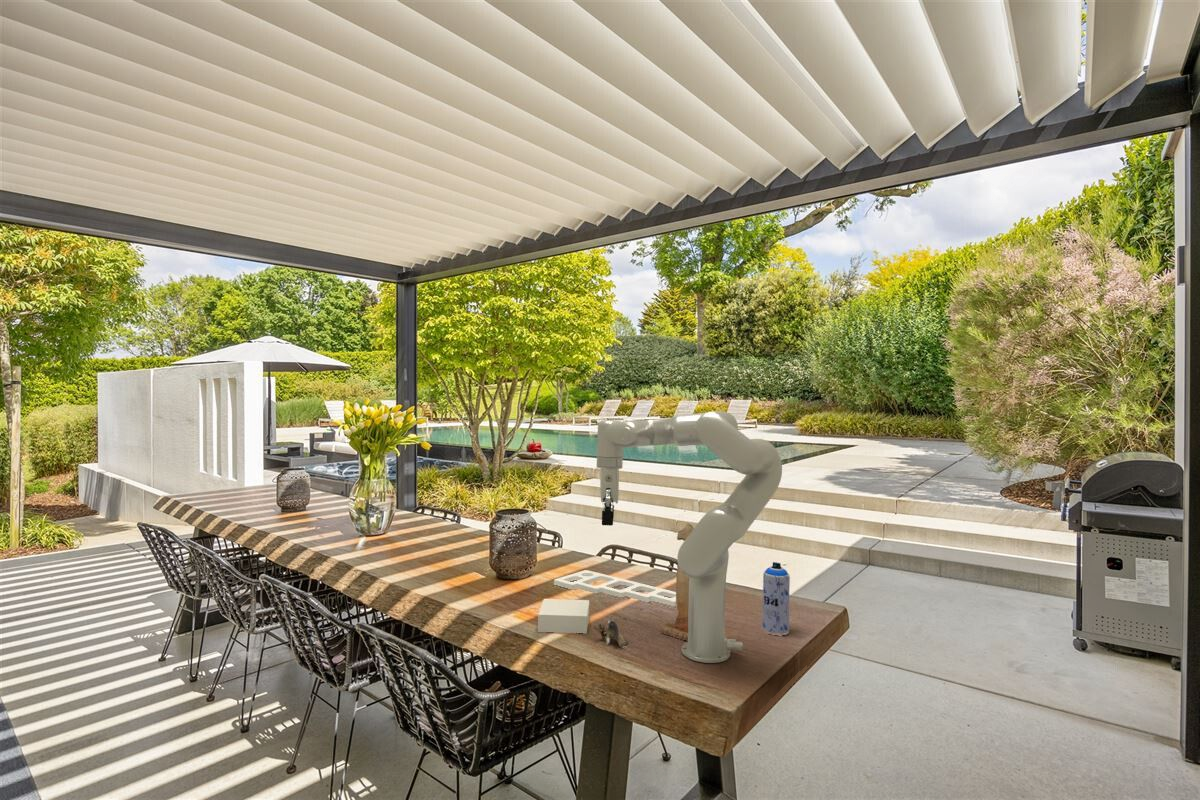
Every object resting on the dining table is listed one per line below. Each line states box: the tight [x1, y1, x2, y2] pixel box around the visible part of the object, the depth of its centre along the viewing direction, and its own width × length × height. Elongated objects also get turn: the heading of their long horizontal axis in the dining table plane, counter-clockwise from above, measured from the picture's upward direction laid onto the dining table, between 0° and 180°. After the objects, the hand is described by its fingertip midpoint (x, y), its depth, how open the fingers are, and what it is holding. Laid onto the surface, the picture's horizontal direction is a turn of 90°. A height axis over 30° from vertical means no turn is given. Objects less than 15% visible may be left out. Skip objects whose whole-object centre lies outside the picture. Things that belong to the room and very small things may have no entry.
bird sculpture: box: [660, 523, 695, 642], centre depth 174 cm, size 11×12×32 cm
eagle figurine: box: [592, 619, 630, 649], centre depth 165 cm, size 8×7×9 cm
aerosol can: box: [761, 561, 791, 634], centre depth 177 cm, size 8×8×20 cm
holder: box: [553, 569, 677, 606], centre depth 209 cm, size 45×18×3 cm, turn 51°
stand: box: [537, 598, 590, 635], centre depth 179 cm, size 14×14×5 cm
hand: (607, 521), depth 175 cm, fingers open, 9 cm apart
